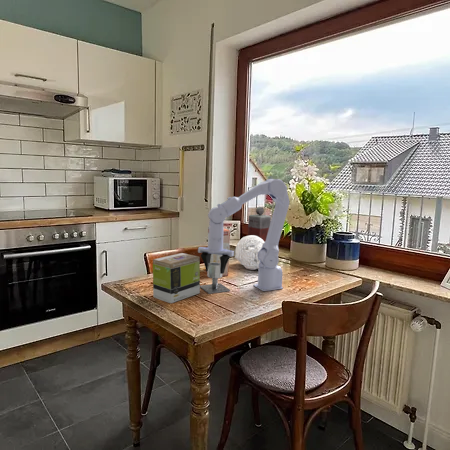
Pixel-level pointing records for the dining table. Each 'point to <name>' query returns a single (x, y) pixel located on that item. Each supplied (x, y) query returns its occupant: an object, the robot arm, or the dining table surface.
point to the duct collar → (214, 270)
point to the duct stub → (214, 287)
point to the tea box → (176, 277)
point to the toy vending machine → (259, 224)
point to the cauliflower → (249, 251)
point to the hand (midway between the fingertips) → (215, 272)
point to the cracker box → (225, 246)
